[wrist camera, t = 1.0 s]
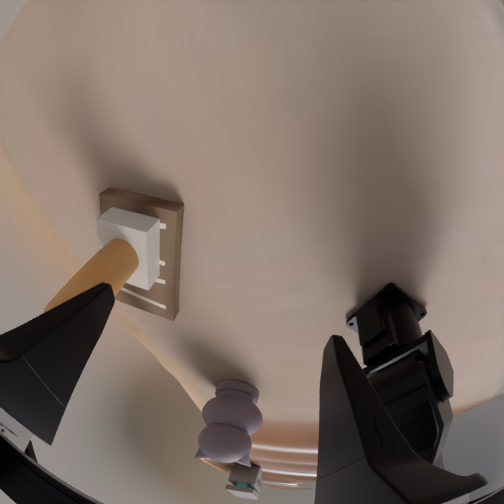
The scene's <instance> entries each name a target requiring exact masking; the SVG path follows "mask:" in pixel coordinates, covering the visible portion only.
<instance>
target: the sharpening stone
mask: <svg viewBox="0 0 504 504" xmlns="http://www.w3.org/2000/svg"><path fill="white" fill-rule="evenodd" d="M229 481H230V482H231V483H232V484H233V485H234V486H232V485H226V489H227V490H228V491H229V492H231V493H233V494H234V495H235V496H237V497H242V498H249V499H256V500H258V499H259V495H258V494H257V493H256V492H260V489H261V481H262V470H261V467H260V466H252V465H251V467H249V466H246V465H243V464H238V463H236V464H235V466H234V468H233V470H232V471H231V473H230V476H229Z"/></svg>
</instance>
